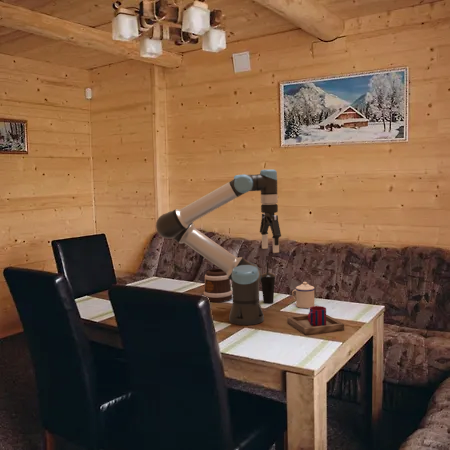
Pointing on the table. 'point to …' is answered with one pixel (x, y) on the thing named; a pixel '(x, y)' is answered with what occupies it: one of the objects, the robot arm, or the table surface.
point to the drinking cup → (268, 286)
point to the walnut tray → (307, 329)
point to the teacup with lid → (304, 295)
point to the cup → (317, 316)
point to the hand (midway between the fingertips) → (270, 250)
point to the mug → (217, 286)
